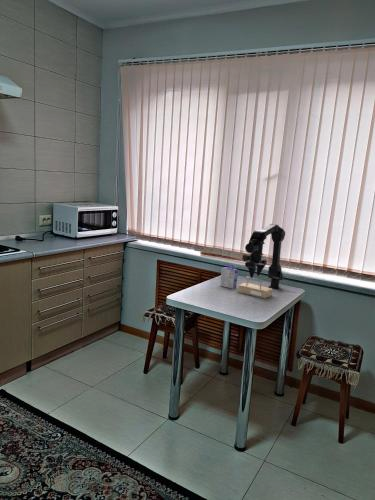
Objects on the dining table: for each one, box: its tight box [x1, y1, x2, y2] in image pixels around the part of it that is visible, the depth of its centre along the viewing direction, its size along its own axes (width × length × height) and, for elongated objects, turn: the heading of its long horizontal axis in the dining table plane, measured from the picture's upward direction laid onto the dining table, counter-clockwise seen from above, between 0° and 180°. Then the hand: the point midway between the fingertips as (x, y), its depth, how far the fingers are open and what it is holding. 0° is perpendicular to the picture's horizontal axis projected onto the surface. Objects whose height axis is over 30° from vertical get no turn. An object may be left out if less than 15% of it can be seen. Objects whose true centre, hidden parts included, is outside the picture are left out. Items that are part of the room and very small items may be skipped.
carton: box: [237, 286, 273, 300], centre depth 239 cm, size 10×18×4 cm, turn 54°
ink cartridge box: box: [219, 263, 239, 289], centre depth 251 cm, size 10×6×14 cm, turn 57°
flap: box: [237, 275, 273, 292], centre depth 238 cm, size 9×18×7 cm, turn 54°
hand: (254, 276), depth 235 cm, fingers open, 9 cm apart
